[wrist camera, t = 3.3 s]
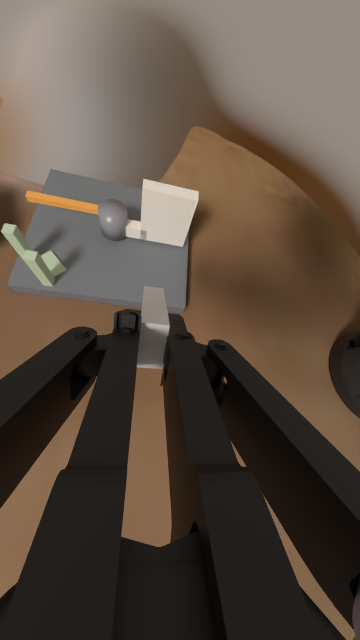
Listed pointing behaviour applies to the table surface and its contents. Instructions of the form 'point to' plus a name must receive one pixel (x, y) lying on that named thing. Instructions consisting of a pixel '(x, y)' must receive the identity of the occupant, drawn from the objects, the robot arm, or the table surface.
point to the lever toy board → (93, 251)
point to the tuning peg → (156, 213)
